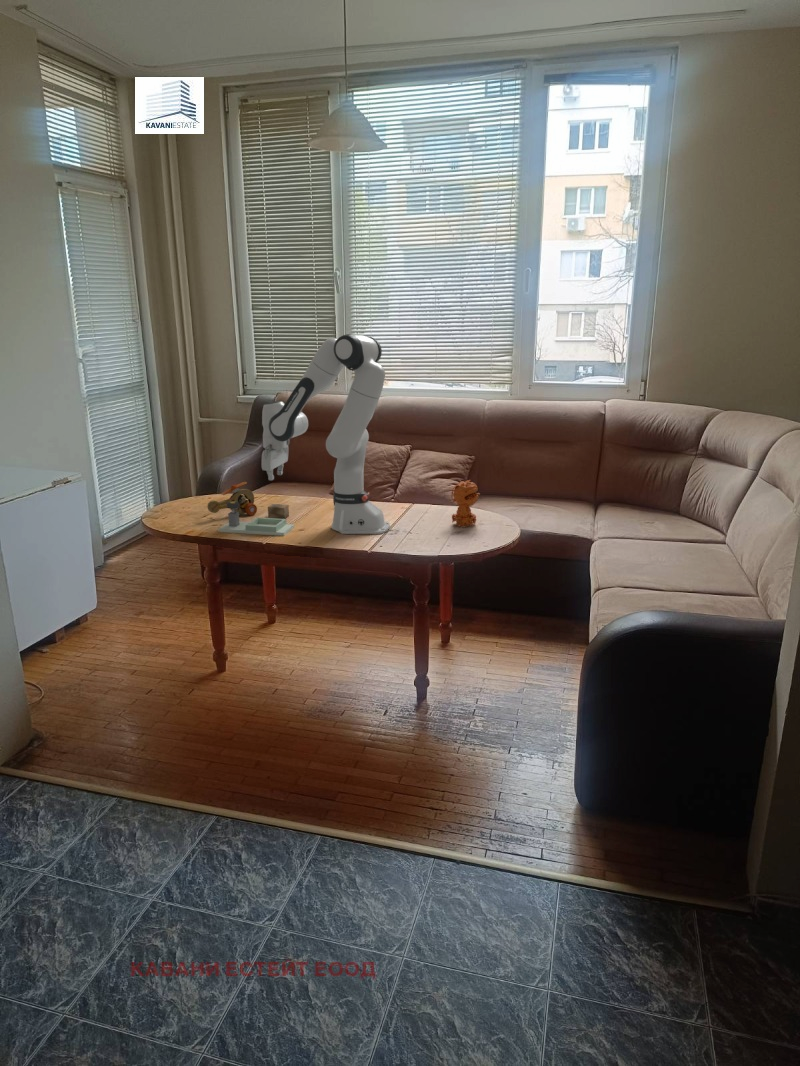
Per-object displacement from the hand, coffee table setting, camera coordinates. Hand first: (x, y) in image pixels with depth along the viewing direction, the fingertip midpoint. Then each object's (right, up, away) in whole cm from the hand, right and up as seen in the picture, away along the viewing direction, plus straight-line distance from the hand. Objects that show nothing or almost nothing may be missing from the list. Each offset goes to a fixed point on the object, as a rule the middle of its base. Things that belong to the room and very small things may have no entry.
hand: (275, 477), depth 284 cm
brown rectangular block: (0, -16, +5) cm, 17 cm away
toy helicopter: (-18, -16, +6) cm, 24 cm away
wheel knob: (-14, -16, -12) cm, 24 cm away
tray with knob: (-5, -21, -12) cm, 25 cm away
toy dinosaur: (+75, -19, -6) cm, 77 cm away
